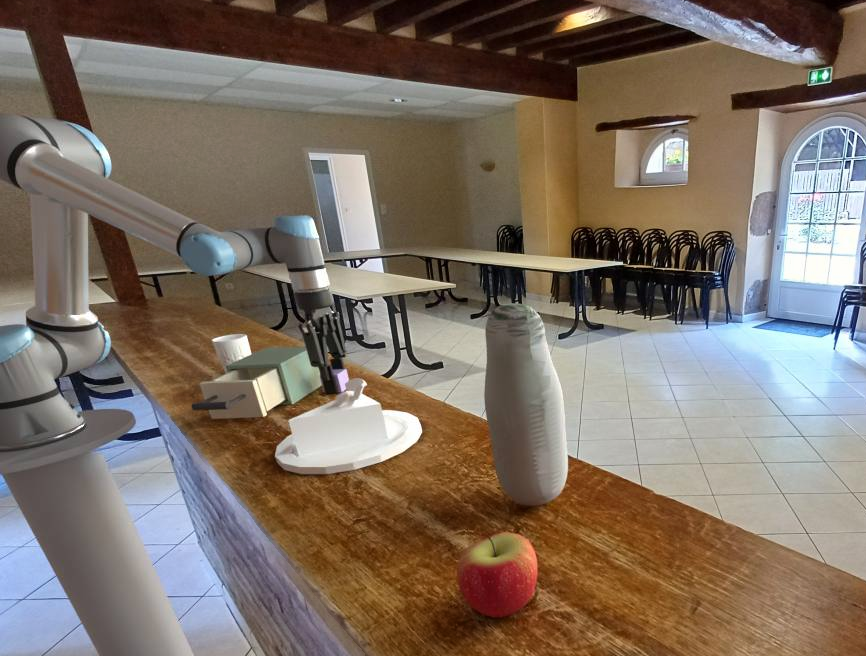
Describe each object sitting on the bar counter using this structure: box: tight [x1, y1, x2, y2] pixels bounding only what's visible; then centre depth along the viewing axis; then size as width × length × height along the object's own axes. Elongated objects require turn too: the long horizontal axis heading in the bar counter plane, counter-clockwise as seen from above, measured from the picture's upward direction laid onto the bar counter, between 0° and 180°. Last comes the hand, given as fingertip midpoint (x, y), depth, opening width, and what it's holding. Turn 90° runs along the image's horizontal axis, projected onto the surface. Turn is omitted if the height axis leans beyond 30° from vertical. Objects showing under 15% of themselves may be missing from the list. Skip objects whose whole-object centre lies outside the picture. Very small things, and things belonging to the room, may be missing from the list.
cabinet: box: [226, 345, 322, 406], centre depth 128 cm, size 15×13×10 cm
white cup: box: [211, 333, 252, 374], centre depth 146 cm, size 8×8×10 cm
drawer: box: [191, 367, 287, 420], centre depth 117 cm, size 20×11×8 cm, turn 177°
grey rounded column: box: [483, 303, 569, 507], centre depth 74 cm, size 10×10×28 cm
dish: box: [274, 377, 423, 475], centre depth 100 cm, size 25×25×11 cm
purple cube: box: [319, 368, 350, 394], centre depth 130 cm, size 4×4×4 cm
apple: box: [456, 532, 538, 618], centre depth 58 cm, size 8×8×10 cm
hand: (337, 388), depth 131 cm, fingers open, 5 cm apart
